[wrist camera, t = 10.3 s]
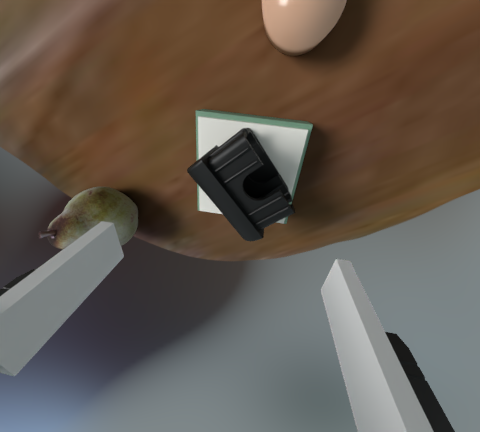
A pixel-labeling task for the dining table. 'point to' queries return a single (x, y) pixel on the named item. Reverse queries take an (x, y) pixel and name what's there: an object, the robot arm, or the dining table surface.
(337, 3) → the pinkish tan egg
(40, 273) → the robot arm
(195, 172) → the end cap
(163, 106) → the dining table surface
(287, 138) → the stand
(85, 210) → the fruit
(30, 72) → the dining table surface
